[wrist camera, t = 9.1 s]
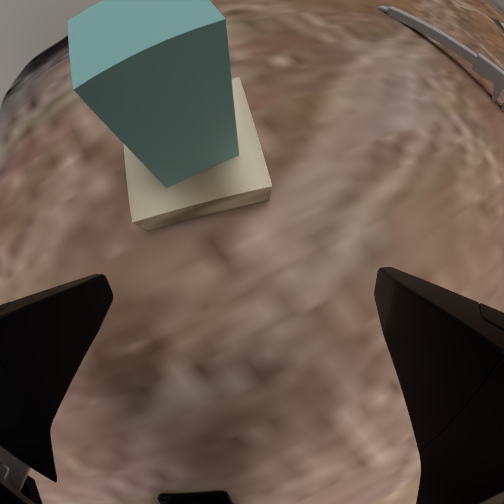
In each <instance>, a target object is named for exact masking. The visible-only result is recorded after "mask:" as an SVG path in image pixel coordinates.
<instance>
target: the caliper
mask: <svg viewBox="0 0 504 504" xmlns="http://www.w3.org/2000/svg"><path fill="white" fill-rule="evenodd" d="M378 9H379V10H382V11H384V12H387V14H388V15H389V16H391V17H393V18H394V19H396V20H397V21H399V22H401V23H404V24H406V25H408V26H410V27H412V28H414V29H416V30H418V31H419V32H421V33H423V34H425V35H427V36H429V37H430V38H432V39H434V40H436V41H437V42H439V43H441V44H442V45H444V46H446V47H447V48H449V49H450V50H452V51H453V52H455V53H457V54H458V55H460V56H461V57H463V58H464V59H465V60H467V61H468V62H470V63H471V64H472V65H473V67H472V70H473V71H475V72H477V73H478V74H480V76H481V77H483V78H485V79H487V80H490V81H492V82H493V83H494V88H493V95H492V100H493V101H494V102H495V100H497V98H498V97H499V95H500V93H501V91H502V89H504V71H503V70H502V69H500V68H499V67H498V66H496V65H495V64H494V63H493V62H491V61H490V60H489V59H487V58H486V57H484V56H483V55H482V54H480V53H479V54H478V55H477V54H476V53H475V52H473V51H472V50H470V49H469V48H467V47H466V46H464V45H463V44H461V43H460V42H458V41H457V40H455V39H454V38H452V37H450V36H449V35H447V34H445V33H444V32H442V31H440V30H438V29H437V28H435V27H433V26H431V25H430V24H428V23H426V22H424V21H422V20H420V19H418V18H416V17H414V16H412V15H410V14H408V13H406V12H404V11H401V10H399V9H397V8H395V7H392V6H390V7H389V8H388V7H385V6H380V7H378ZM501 110H502V111H504V103H503V105H502V107H501Z"/></svg>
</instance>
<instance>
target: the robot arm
mask: <svg viewBox="0 0 504 504" xmlns="http://www.w3.org/2000/svg"><path fill="white" fill-rule="evenodd" d="M374 296H375V301H376V306H377V310H378V314H379V318H380V323H381V327H382V331H383V335H384V338H385V341H386V344H387V346H388V349H389V352H390V355H391V358H392V361H393V364H394V367H395V370H396V373H397V376H398V379H399V382H400V385H401V389H402V392H403V395H404V398H405V402H406V405H407V409H408V412H409V416H410V419H411V423H412V427H413V431H414V435H415V439H416V443H417V447H418V451H419V454H420V461H421V477H420V484H419V490H418V496H417V502H416V504H504V313H503V312H501V311H498V310H496V309H494V308H491V307H489V306H487V305H484V304H482V303H480V304H479V303H478V302H476V301H474V300H471V299H469V298H467V297H464V296H462V295H459V294H457V293H455V292H452V291H450V290H447V289H445V288H442V287H440V286H438V285H435V284H433V283H430V282H428V281H425V280H423V279H420V278H418V277H415V276H413V275H410V274H408V273H405V272H402V271H400V270H397V269H395V268H392V267H383V268H379V270H378V273H377V279H376V285H375V291H374ZM112 301H113V292H112V290H111V288H110V285H109V283H108V280H107V278H106V276H105V275H103V274H94V275H91V276H88V277H85V278H81V279H78V280H75V281H72V282H69V283H66V284H63V285H60V286H57V287H54V288H51V289H48V290H45V291H42V292H39V293H36V294H33V295H30V296H27V297H24V298H21V299H18V300H15V301H12V302H8V303H5V304H2V305H0V504H42V501H41V498H40V495H39V492H38V489H37V486H36V483H35V480H34V479H33V478H31V477H30V476H28V473H29V471H30V468H32V469H34V470H36V471H37V472H39V473H40V474H42V475H44V476H45V477H47V478H49V479H50V480H52V481H54V482H57V475H56V469H55V464H54V458H53V451H52V444H51V435H50V430H51V425H52V422H53V419H54V417H55V415H56V413H57V411H58V408H59V406H60V404H61V402H62V400H63V398H64V396H65V394H66V392H67V390H68V388H69V385H70V383H71V381H72V379H73V378H74V376H75V374H76V372H77V370H78V368H79V366H80V364H81V362H82V360H83V358H84V356H85V355H86V353H87V351H88V349H89V347H90V345H91V344H92V342H93V340H94V338H95V336H96V335H97V333H98V331H99V329H100V327H101V325H102V323H103V320H104V318H105V316H106V314H107V312H108V309H109V307H110V305H111V303H112ZM221 496H224V497H221ZM163 498H164V499H163ZM158 500H159V502H160V504H233V503H232V501H231V499H230V497H229V495H228V494H227V493H226V492H223V491H220V492H209V493H192V494H160V495H159V497H158Z"/></svg>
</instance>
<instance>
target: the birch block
mask: <svg viewBox="0 0 504 504" xmlns="http://www.w3.org/2000/svg"><path fill="white" fill-rule="evenodd" d="M232 89H233V98H234V108H235V118H236V128H237V137H238V147H239V155H237V156H235V157H233V158H230V159H228V160H226V161H224V162H221V163H219V164H217V165H215V166H212V167H210V168H208V169H206V170H204V171H202V172H199V173H197V174H195V175H193V176H191V177H189V178H187V179H185V180H183V181H181V182H179V183H177V184H175V185H173V186H171V187H169V188H166V187H165V186H164V185H163V184H162V183H161V182H160V181H159V180H158V179H157V178H156V177H155V176H154V175H153V174H152V173H151V172H150V171H149V170H148V169H147V168H146V166H145V165H144V164H143V163H142V162H141V161H140V160H139V159H138V158H137V157H136V156H135V155H134V154H133V153H132V152H131V151H130V150H129V149H128V148H127V146H126V145H125V144H124V156H125V167H126V177H127V187H128V195H129V203H130V211H131V218H132V223H134V224H136V225H138V226H140V227H142V228H144V229H146V230H148V231H149V230H153V229H157V228H160V227H164V226H167V225H171V224H175V223H178V222H182V221H186V220H190V219H194V218H197V217H201V216H205V215H209V214H213V213H217V212H221V211H225V210H229V209H233V208H237V207H242V206H246V205H250V204H254V203H259V202H263V201H267V200H269V199H270V194H271V190H272V184H271V180H270V177H269V173H268V170H267V166H266V163H265V159H264V156H263V152H262V149H261V146H260V142H259V139H258V136H257V132H256V129H255V126H254V122H253V119H252V116H251V113H250V109H249V106H248V103H247V100H246V97H245V93H244V90H243V87H242V84H241V81H240V78H233V79H232Z"/></svg>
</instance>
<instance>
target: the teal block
mask: <svg viewBox="0 0 504 504" xmlns="http://www.w3.org/2000/svg"><path fill="white" fill-rule="evenodd" d="M68 38H69V53H70V64H71V74H72V82H73V90H74V91H75V92H76V93H77V94H78V95H79V96H80V97H81V98H82V99H83V101H84V102H85V103H86V104H87V105H88V106H89V107H90V108H91V109H92V110H93V111H94V112H95V113H96V115H97V116H98V117H99V118H100V119H101V120H102V121H103V122H104V123H105V124H106V125H107V126H108V127H109V128H110V130H111V131H112V132H113V133H114V134H115V135H116V136H117V137H118V138H119V139H120V140H121V141H122V142H123V143H124V144H125V145H126V146H127V148H128V149H129V150H130V151H131V152H132V153H133V154H134V155H135V156H136V157H137V158H138V159H139V160H140V161H141V162H142V163H143V164H144V165H145V166H146V168H147V169H148V170H149V171H150V172H151V173H152V174H153V175H154V176H155V177H156V178H157V179H158V180H159V181H160V182H161V183H162V184H163V185H164V186H165V187H166V188H169V187H171V186H173V185H175V184H177V183H179V182H181V181H183V180H185V179H187V178H189V177H191V176H193V175H195V174H197V173H199V172H202V171H204V170H206V169H208V168H210V167H212V166H215V165H217V164H219V163H221V162H224V161H226V160H228V159H230V158H233V157H235V156H237V155H239V147H238V137H237V128H236V118H235V108H234V98H233V89H232V79H231V69H230V59H229V49H228V39H227V29H226V19H225V18H224V17H223V16H222V14H221V13H220V12H219V11H218V10H217V9H216V7H215V6H214V5H213V4H212V3H211V2H210V1H209V0H103V1H101V2H100V3H98V4H96V5H94V6H92V7H90V8H88V9H87V10H85V11H83V12H82V13H80V14H78V15H77V16H75V17H73V18H72V19H70V20H68Z"/></svg>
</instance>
